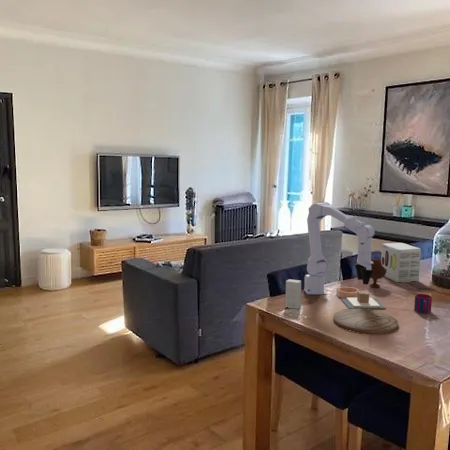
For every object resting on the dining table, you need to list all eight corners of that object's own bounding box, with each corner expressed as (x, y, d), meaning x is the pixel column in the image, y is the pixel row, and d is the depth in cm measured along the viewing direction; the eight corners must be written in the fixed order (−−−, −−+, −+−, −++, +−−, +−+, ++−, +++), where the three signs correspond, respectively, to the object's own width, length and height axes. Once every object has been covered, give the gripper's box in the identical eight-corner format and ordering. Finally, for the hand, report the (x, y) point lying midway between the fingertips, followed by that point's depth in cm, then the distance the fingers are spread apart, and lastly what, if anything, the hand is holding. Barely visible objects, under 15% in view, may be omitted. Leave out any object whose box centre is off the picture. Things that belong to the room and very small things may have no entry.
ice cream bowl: (389, 289, 232) (390, 260, 230) (366, 289, 232) (368, 260, 230) (382, 283, 243) (384, 255, 240) (361, 283, 243) (362, 255, 241)
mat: (348, 309, 203) (349, 307, 202) (341, 299, 215) (341, 298, 215) (385, 309, 203) (385, 307, 203) (375, 299, 216) (375, 298, 216)
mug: (430, 309, 202) (431, 294, 201) (431, 317, 193) (432, 301, 192) (414, 307, 205) (415, 293, 204) (414, 315, 196) (415, 299, 195)
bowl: (340, 299, 217) (340, 292, 216) (335, 292, 227) (335, 286, 226) (361, 299, 217) (361, 292, 217) (355, 292, 227) (355, 286, 226)
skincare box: (301, 306, 206) (301, 280, 204) (298, 309, 202) (299, 282, 200) (287, 304, 208) (288, 278, 207) (284, 307, 205) (285, 281, 203)
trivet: (320, 320, 189) (320, 316, 189) (359, 309, 204) (359, 304, 204) (371, 340, 170) (372, 335, 169) (410, 325, 184) (411, 321, 184)
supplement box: (379, 274, 261) (381, 243, 259) (400, 273, 264) (402, 242, 262) (397, 283, 245) (399, 249, 242) (419, 281, 248) (421, 248, 245)
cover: (353, 307, 203) (354, 296, 202) (346, 299, 215) (346, 289, 214) (379, 307, 203) (380, 296, 203) (371, 299, 215) (371, 289, 214)
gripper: (379, 255, 199) (377, 286, 201) (368, 248, 213) (366, 277, 215) (362, 255, 199) (361, 286, 201) (353, 248, 213) (351, 277, 215)
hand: (363, 281), depth 208 cm, fingers open, 7 cm apart
